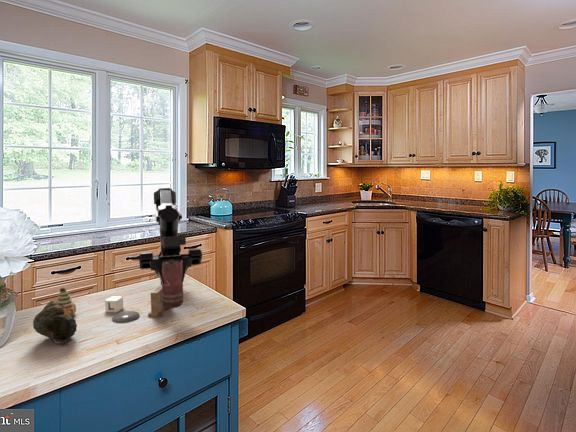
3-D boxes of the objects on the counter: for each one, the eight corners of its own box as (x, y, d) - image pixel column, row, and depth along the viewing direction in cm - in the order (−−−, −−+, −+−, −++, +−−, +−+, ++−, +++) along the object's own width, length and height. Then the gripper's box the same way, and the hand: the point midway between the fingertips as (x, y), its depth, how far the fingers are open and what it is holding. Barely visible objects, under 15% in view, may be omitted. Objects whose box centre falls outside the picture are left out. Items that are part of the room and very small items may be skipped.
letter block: (111, 307, 127) (111, 296, 126) (123, 307, 126) (122, 296, 126) (105, 312, 123) (104, 300, 122) (117, 312, 122) (116, 300, 122)
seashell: (28, 353, 95) (25, 316, 93) (38, 335, 105) (35, 301, 104) (76, 346, 99) (73, 310, 98) (80, 329, 109) (78, 296, 108)
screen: (159, 306, 128) (158, 284, 127) (171, 306, 127) (171, 284, 126) (147, 316, 119) (146, 292, 118) (161, 317, 118) (160, 293, 117)
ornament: (45, 323, 113) (42, 292, 112) (48, 316, 118) (46, 286, 117) (75, 319, 116) (73, 288, 115) (76, 312, 122) (74, 283, 121)
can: (178, 309, 111) (177, 264, 109) (158, 307, 112) (157, 262, 110) (187, 302, 117) (186, 259, 115) (168, 299, 118) (168, 257, 116)
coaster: (120, 312, 122) (120, 310, 122) (143, 312, 122) (143, 311, 122) (106, 322, 114) (106, 320, 114) (131, 322, 114) (131, 321, 114)
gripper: (137, 227, 112) (139, 272, 103) (200, 224, 118) (206, 266, 110) (139, 247, 120) (140, 290, 111) (197, 243, 127) (203, 284, 118)
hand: (173, 282), depth 112 cm, fingers closed on can, 5 cm apart
